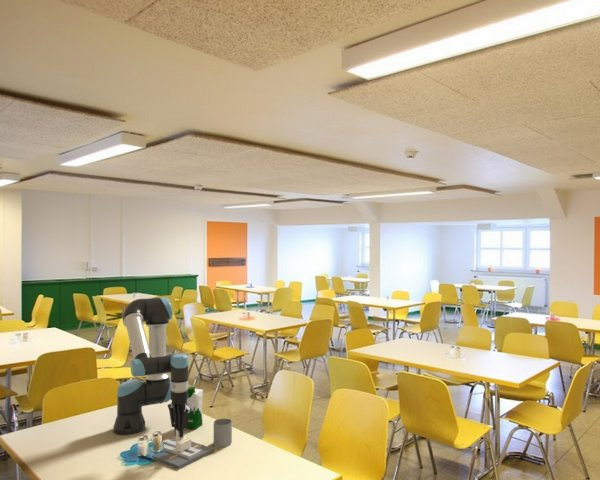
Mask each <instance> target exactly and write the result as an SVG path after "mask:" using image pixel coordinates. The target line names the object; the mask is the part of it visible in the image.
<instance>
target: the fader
mask: <svg viewBox="0 0 600 480" xmlns="http://www.w3.org/2000/svg"><path fill="white" fill-rule="evenodd" d="M191 441H192V439H191V438H190V437H185V438H184V437H183V439H182V440H180V441H178V442H176V451H179V452H182V451H186V449H188V448H190V447H191Z"/></svg>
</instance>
